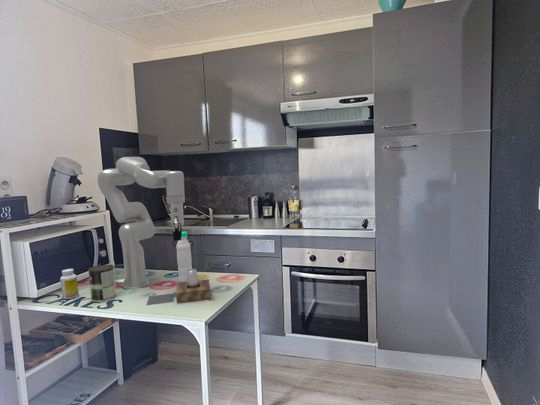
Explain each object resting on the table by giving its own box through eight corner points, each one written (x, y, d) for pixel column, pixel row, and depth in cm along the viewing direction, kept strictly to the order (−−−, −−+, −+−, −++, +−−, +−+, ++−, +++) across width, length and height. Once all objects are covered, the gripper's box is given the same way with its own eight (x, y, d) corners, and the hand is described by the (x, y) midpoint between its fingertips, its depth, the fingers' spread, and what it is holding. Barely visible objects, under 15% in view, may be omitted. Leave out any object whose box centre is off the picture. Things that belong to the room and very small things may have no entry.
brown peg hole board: (177, 304, 146) (176, 293, 145) (178, 293, 159) (177, 282, 159) (211, 300, 148) (210, 288, 148) (209, 289, 162) (208, 279, 162)
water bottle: (186, 277, 183) (183, 230, 181) (196, 279, 179) (192, 231, 177) (175, 281, 178) (171, 232, 175) (185, 283, 173) (181, 233, 171)
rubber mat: (146, 306, 145) (146, 305, 145) (149, 297, 156) (149, 296, 156) (173, 303, 148) (173, 301, 148) (174, 294, 158) (174, 293, 158)
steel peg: (189, 299, 151) (187, 272, 150) (189, 296, 155) (187, 269, 154) (198, 297, 152) (196, 270, 151) (198, 294, 156) (196, 268, 155)
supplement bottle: (82, 295, 165) (79, 268, 164) (70, 300, 158) (67, 272, 157) (71, 294, 167) (68, 267, 166) (59, 299, 161) (55, 271, 160)
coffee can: (90, 303, 152) (87, 272, 151) (92, 296, 162) (89, 266, 161) (116, 299, 156) (113, 268, 155) (116, 292, 166) (113, 263, 165)
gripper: (184, 201, 146) (186, 241, 147) (185, 197, 162) (186, 233, 164) (165, 201, 144) (167, 242, 146) (168, 197, 161) (170, 234, 163)
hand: (177, 238), depth 155 cm, fingers open, 9 cm apart
